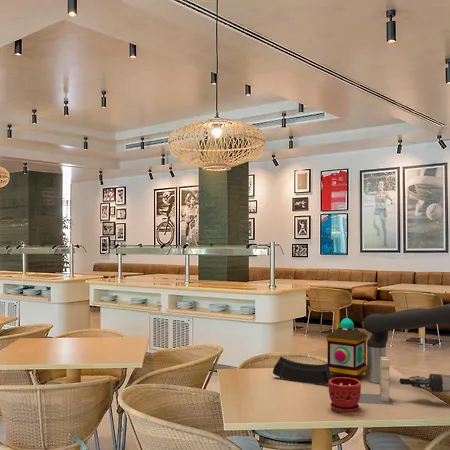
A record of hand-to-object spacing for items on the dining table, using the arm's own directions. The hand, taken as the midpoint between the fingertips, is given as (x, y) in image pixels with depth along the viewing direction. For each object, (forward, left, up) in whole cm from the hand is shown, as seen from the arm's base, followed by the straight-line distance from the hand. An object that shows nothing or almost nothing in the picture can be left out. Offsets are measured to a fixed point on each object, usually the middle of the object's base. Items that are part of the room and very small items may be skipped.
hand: (399, 381), depth 237 cm
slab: (0, -7, -8) cm, 11 cm away
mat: (-1, -15, -9) cm, 17 cm away
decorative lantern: (-42, -20, -9) cm, 47 cm away
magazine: (-27, -42, -9) cm, 51 cm away
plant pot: (+15, -25, -9) cm, 31 cm away
